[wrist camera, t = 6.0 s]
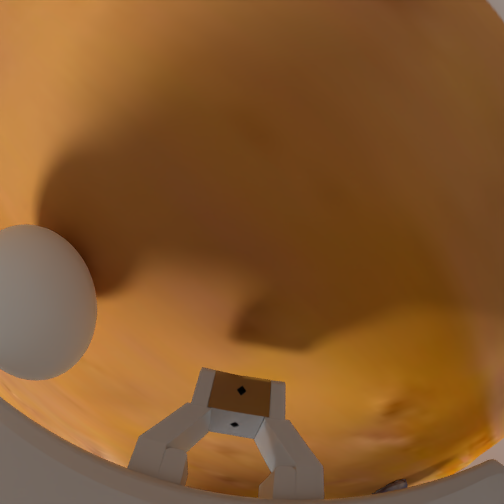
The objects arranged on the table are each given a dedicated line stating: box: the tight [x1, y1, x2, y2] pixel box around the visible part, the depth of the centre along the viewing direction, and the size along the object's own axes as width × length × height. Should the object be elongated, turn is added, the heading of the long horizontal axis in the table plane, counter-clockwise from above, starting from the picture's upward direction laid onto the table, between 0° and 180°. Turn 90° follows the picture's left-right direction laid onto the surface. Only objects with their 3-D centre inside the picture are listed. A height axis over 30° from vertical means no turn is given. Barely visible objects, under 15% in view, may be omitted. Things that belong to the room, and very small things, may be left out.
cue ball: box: [0, 224, 97, 380], centre depth 7 cm, size 6×6×6 cm
